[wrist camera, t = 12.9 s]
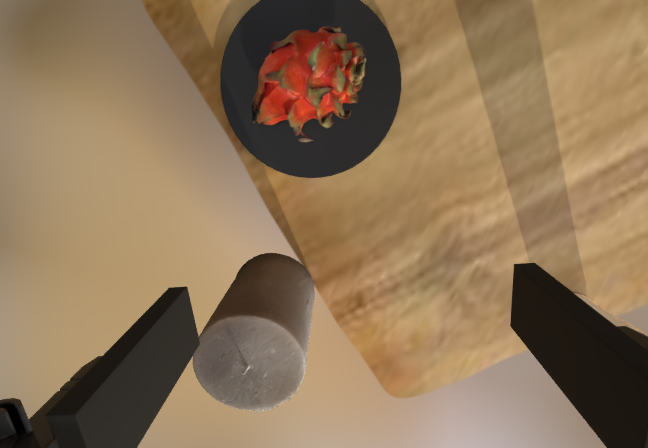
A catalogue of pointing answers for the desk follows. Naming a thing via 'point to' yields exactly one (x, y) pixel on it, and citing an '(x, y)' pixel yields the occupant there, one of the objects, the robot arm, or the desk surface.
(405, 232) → the desk surface
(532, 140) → the desk surface
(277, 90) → the dragon fruit
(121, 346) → the robot arm
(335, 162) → the mat
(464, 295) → the desk surface
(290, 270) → the pillar candle
